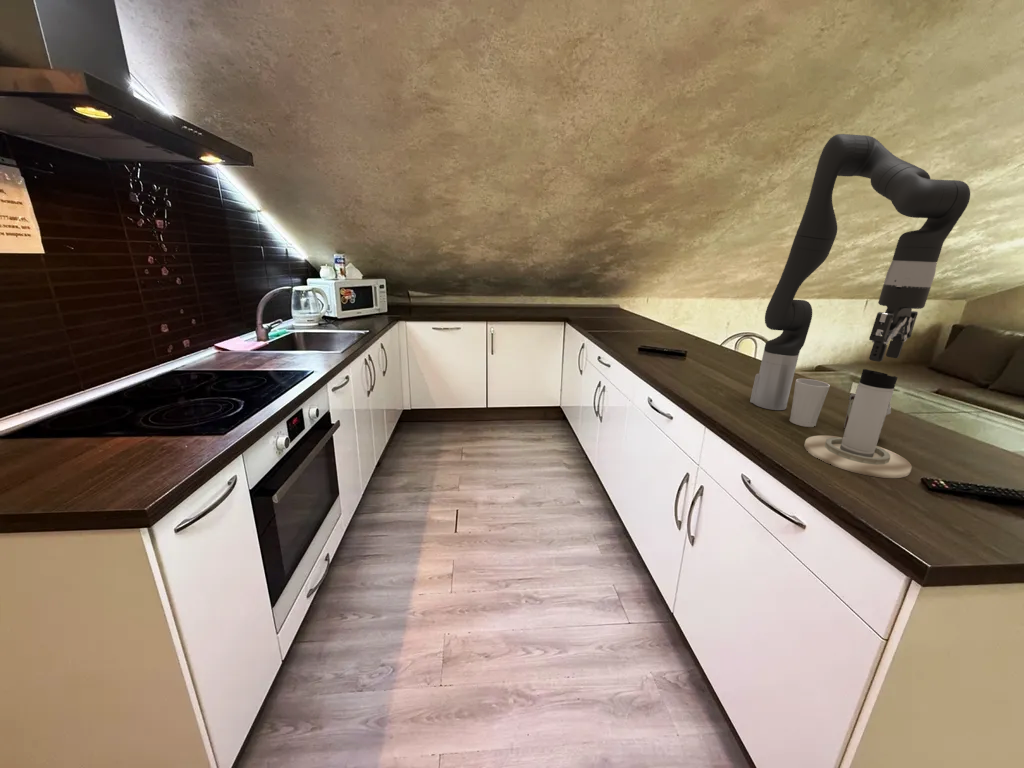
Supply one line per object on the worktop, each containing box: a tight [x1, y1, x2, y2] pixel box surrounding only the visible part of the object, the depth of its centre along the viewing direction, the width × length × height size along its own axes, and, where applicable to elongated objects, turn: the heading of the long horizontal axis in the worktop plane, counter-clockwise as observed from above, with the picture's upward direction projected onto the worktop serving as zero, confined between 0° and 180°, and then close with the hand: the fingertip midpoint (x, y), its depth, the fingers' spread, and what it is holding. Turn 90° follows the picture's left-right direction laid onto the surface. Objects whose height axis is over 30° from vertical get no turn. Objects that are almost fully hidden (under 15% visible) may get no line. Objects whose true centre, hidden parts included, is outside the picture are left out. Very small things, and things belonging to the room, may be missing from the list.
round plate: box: [803, 435, 913, 479], centre depth 102 cm, size 20×20×2 cm
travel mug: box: [840, 368, 898, 457], centre depth 99 cm, size 6×7×20 cm
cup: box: [789, 378, 831, 428], centre depth 122 cm, size 8×8×12 cm
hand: (883, 359), depth 95 cm, fingers open, 8 cm apart
